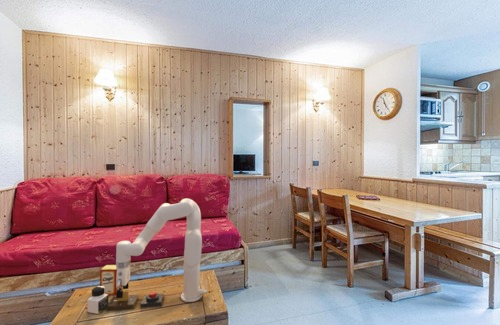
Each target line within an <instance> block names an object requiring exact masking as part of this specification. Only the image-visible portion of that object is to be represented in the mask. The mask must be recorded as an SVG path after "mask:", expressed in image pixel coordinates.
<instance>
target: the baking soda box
mask: <svg viewBox="0 0 500 325" xmlns="http://www.w3.org/2000/svg"><path fill="white" fill-rule="evenodd" d="M116 276H117V268H116V264H106V265H104V266H102V267H101V268H100V269H99V286H103V287H105V294H108V296H116V289H117V288H116ZM120 285H122V284H120ZM120 288H121V287H120Z"/></svg>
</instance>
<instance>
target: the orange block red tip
mask: <svg viewBox="0 0 500 325" xmlns="http://www.w3.org/2000/svg"><path fill="white" fill-rule="evenodd" d="M129 295H130V290H129V289H126V290H123V297H122V298H118V301H128V299H129Z"/></svg>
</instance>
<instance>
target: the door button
mask: <svg viewBox="0 0 500 325" xmlns="http://www.w3.org/2000/svg"><path fill="white" fill-rule="evenodd" d="M156 293H157V292H156V291H151V292H149V293H148V294H149V297H151V298H152V297H155V296H156Z"/></svg>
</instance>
